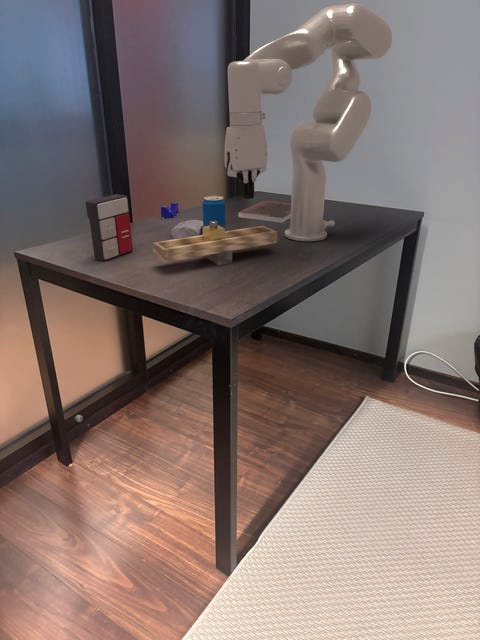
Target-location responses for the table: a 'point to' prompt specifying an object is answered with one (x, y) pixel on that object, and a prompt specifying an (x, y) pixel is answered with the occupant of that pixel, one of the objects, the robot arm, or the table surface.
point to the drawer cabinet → (109, 226)
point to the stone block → (187, 229)
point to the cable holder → (169, 213)
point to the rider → (213, 232)
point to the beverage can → (214, 210)
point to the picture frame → (268, 211)
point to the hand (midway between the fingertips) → (247, 197)
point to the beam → (214, 245)
